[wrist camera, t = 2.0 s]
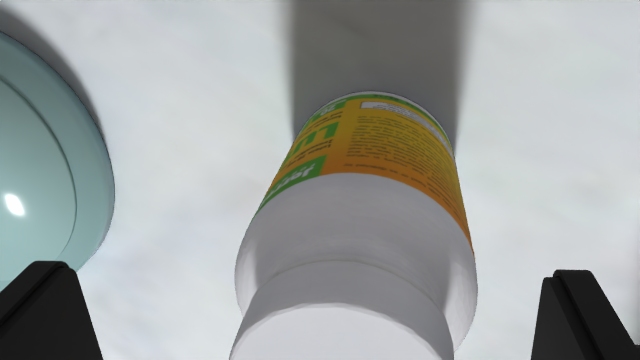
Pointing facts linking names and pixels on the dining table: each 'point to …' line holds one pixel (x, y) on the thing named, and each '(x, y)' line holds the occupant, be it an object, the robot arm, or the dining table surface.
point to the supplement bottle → (359, 242)
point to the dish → (48, 168)
